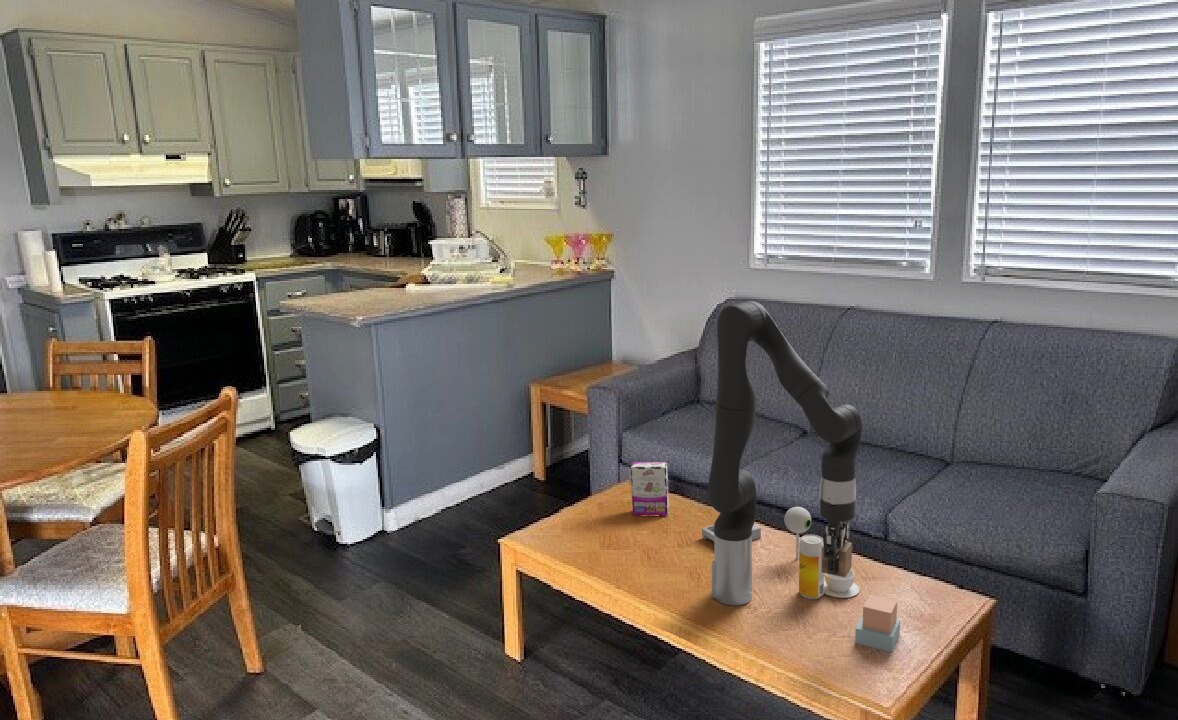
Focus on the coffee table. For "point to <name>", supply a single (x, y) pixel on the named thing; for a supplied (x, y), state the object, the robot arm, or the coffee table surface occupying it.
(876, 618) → the tower top
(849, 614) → the coffee table surface
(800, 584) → the beer can
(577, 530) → the coffee table surface
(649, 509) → the candy bar box
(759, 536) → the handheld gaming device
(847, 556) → the walnut block
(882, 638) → the tower base
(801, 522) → the lollipop
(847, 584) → the teacup
